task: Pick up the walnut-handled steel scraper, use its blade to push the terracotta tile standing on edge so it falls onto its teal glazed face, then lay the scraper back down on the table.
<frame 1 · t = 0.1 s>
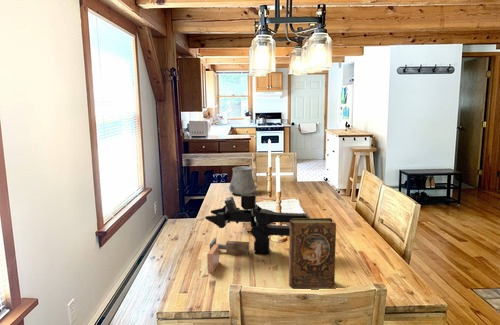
hand: (208, 214, 172), 17 cm above the table, tool horizontal, fingers open, 9 cm apart
scraper: (231, 252, 170), on the table
vessel: (243, 194, 278), on the table
book: (310, 284, 140), on the table
tile: (213, 267, 155), on the table
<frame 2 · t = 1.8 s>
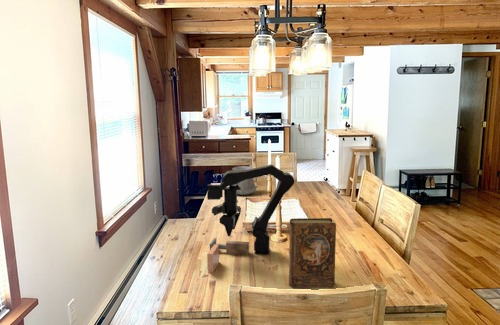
hand: (231, 232, 168), 9 cm above the table, tool pointing down, fingers open, 9 cm apart
nothing on the table moved.
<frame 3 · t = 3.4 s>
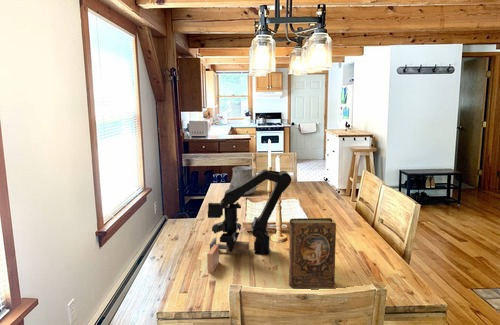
hand: (231, 250, 170), 1 cm above the table, tool pointing down, fingers closed on scraper, 3 cm apart
scraper: (231, 252, 170), on the table, touching gripper
everything else where it was.
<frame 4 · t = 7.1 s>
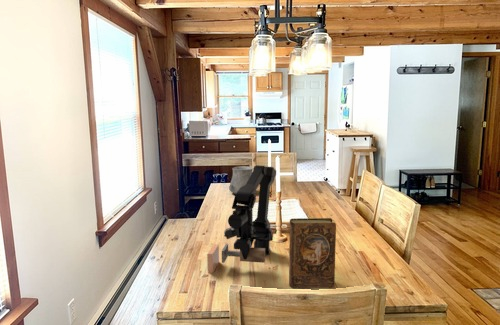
hand: (245, 257, 152), 5 cm above the table, tool pointing down, fingers closed on scraper, 3 cm apart
scraper: (245, 260, 152), point 4 cm above the table, touching gripper
everything else where it was.
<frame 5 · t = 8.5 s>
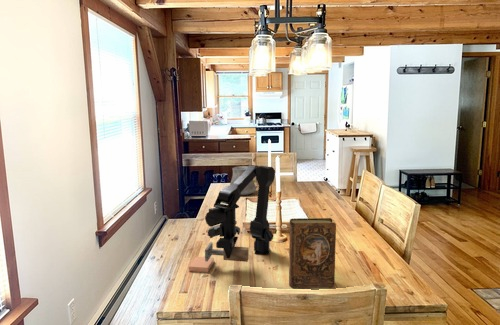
hand: (229, 256, 153), 5 cm above the table, tool pointing down, fingers closed on scraper, 3 cm apart
scraper: (228, 258, 153), point 4 cm above the table, touching gripper
tile: (211, 264, 155), point 1 cm above the table, tilted 90°
everything else where it was.
when the fingers open (2 cm above the table, at t = 11.0 s): scraper drops 1 cm, on the table.
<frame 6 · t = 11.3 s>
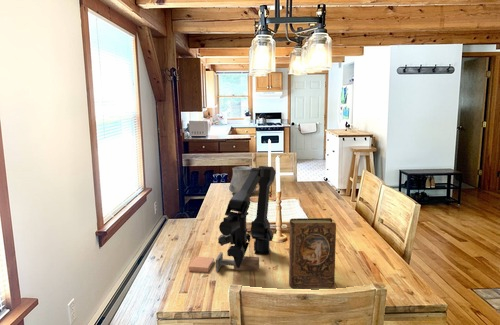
hand: (239, 264, 153), 2 cm above the table, tool pointing down, fingers open, 6 cm apart
scraper: (239, 268, 153), on the table
everything else where it was.
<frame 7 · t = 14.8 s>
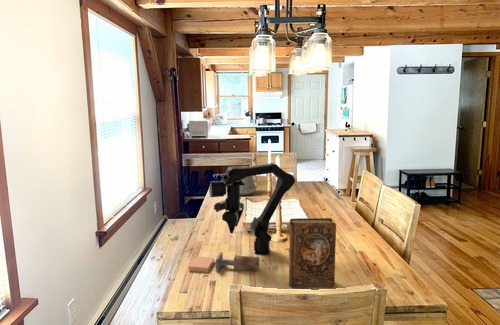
hand: (233, 229, 165), 12 cm above the table, tool pointing down, fingers open, 9 cm apart
nothing on the table moved.
at the end: tile tilted 90°; tile inside the target area (1.0 cm from its centre), point 0.9 cm above the table; the gripper is holding nothing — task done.
